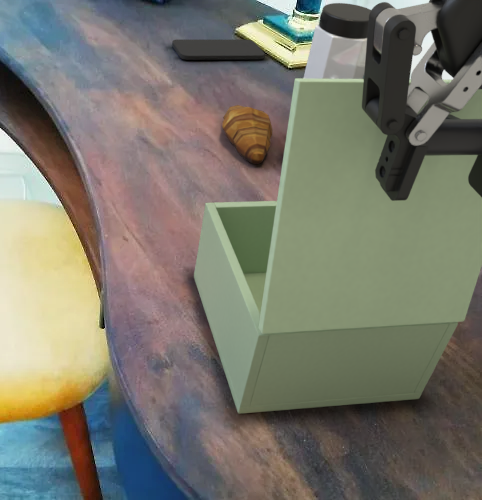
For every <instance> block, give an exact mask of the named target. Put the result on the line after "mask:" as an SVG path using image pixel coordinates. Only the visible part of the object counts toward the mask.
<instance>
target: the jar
mask: <svg viewBox="0 0 482 500" xmlns="http://www.w3.org/2000/svg"><path fill="white" fill-rule="evenodd" d="M371 10H372V9H371V8H367V7H365V6H363V5H357V4H351V3H345V2H335V3H334V2H332V3H328V4H325V5H324V6H323V7H322V10H321V12H320V16H319V22H318V24H317V25H315V28H314V32H313V35H312V40H311V45H310V49H309V52H308V57H307V61H306V65H305V68H304V74H303V78H313V79H364V71H365V59H366V46H367V34H368V21H369V14H370V12H371Z"/></svg>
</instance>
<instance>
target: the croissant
mask: <svg viewBox="0 0 482 500" xmlns="http://www.w3.org/2000/svg"><path fill="white" fill-rule="evenodd" d="M222 118H223V120H222V123H221V124H222V126H221V127H222V130H223V132H224V134H225V136H226V139H227V140H228V141H229V143H230V144H231V145H232V146H234V147H235V150H236V151H237V153H238V154H239V155H240V156H241V157H242V158H243V159H244V160H246V161H247V162H249V163H251V164H254V165H260V164H262V163H263V162H264V159H265V157H266V155H267V153H268V151H269V149H270V146H271V145H272V142H271V138H272V137H273V125H272V122H271V119H270V116H269V114H268V113H266V112H265V111H264V110H260V109H257V108H253V107H250V106H244V105H241V104H240V105H239V104H237V105H232V106H229V108H228V109H227V110H226V112H225V114H224V115H223V117H222Z"/></svg>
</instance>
